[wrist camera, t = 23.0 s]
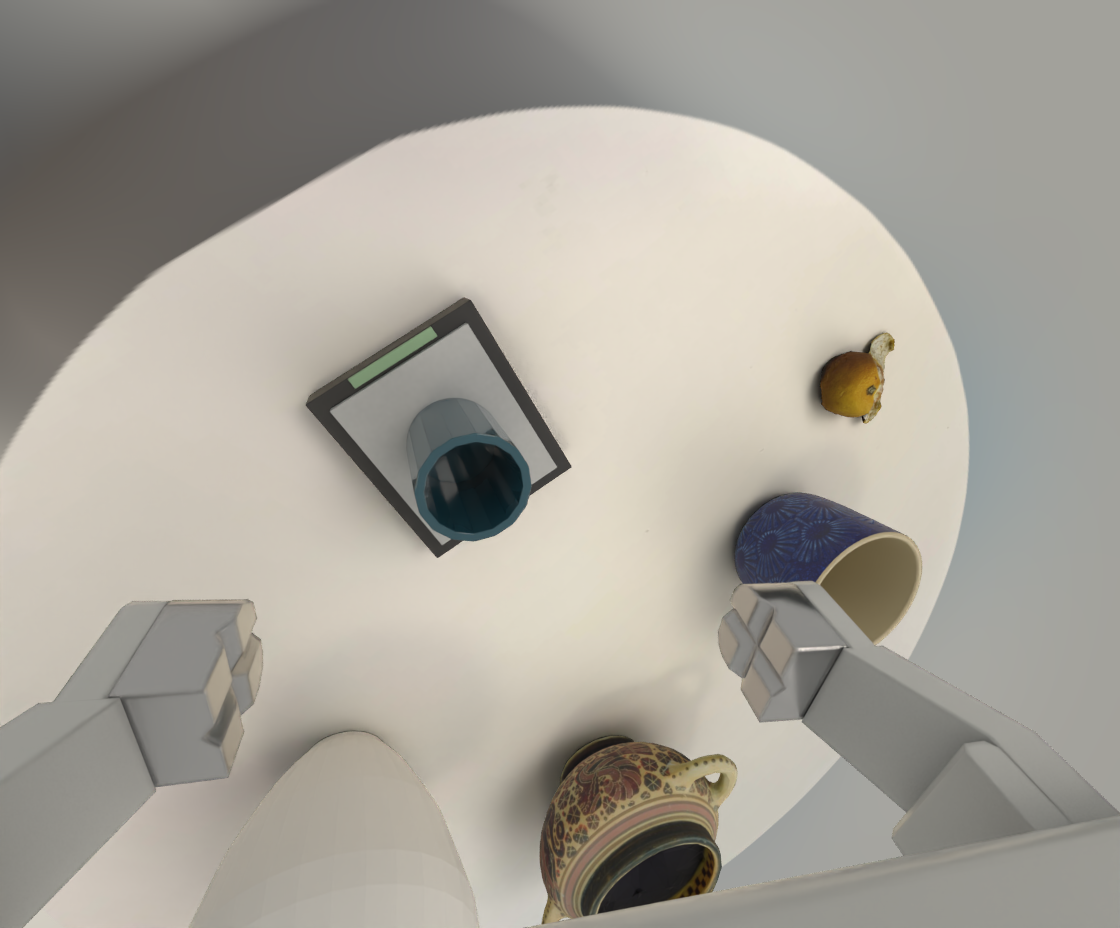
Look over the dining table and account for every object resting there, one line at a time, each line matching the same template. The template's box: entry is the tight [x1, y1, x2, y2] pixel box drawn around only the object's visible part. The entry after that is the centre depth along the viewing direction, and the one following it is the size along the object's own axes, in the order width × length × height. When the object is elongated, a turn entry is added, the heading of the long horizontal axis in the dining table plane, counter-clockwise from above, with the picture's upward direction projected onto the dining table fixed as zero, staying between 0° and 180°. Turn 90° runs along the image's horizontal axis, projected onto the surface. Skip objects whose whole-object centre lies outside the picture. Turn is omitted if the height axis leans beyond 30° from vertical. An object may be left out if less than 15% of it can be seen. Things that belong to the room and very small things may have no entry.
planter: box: [735, 493, 922, 645], centre depth 47 cm, size 12×12×11 cm
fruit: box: [820, 333, 895, 423], centre depth 46 cm, size 8×8×4 cm
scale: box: [306, 298, 571, 558], centre depth 36 cm, size 14×12×3 cm
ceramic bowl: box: [540, 736, 737, 924], centre depth 50 cm, size 24×18×15 cm
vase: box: [189, 731, 479, 928], centre depth 34 cm, size 18×18×25 cm
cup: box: [406, 398, 532, 541], centre depth 31 cm, size 6×6×8 cm
